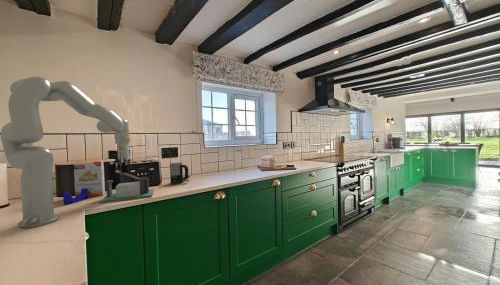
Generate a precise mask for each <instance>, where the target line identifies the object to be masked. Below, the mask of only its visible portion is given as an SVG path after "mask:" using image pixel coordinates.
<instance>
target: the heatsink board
mask: <svg viewBox="0 0 500 285" xmlns="http://www.w3.org/2000/svg"><path fill="white" fill-rule="evenodd" d="M140 178H141V179H140V180H139V181H133V182H124V183H118V184H117V185H115V192H113V189H112V187H113V186H112V183H113V182H114V179H112V180H111V179H109V180H107V181H106V182H105V191H106V196H104V198H101V200H100V203H101V204H105V203H112V202H113V203H115V202H120V201H121V202H122V201H131V200H139V199H146V198H152V197H153V194H154V188H150V187H149V186H150V185H149V176H145V177H140Z"/></svg>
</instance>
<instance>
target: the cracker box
mask: <svg viewBox="0 0 500 285" xmlns="http://www.w3.org/2000/svg"><path fill="white" fill-rule="evenodd" d="M73 174H74V176H73V178H74V194H75V197H76V196H77V195H78V194H80V193H81V189H88V198H91V197H99V196H100V197H102V196H104V195H105V194H106V182H105V167H104V160H97V161H80V162H79V161H77V162H74V163H73ZM75 197H74V198H75Z"/></svg>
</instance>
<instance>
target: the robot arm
mask: <svg viewBox="0 0 500 285" xmlns="http://www.w3.org/2000/svg"><path fill="white" fill-rule="evenodd" d="M9 90H10V92H11V94H10V96H9V99H8V103H7V104H8V106H7V107H8V113H9V118H10V122H7V123H5V124H4V125H3V126H2V127H1V129H0V139H1V145H2V148H3V151H4V154H5V158H6V161H7V162H8V164H9V165H10V166H11V167H13V168H15V169H18V170H21V174H20V180H19V182H20V192H21V193H20V198H21V212H22V220H20V221H19V222H18V223H17V227H18V228H19V229H21V228H22V229H27V228H34V227H39V226H43V225H48V224H52V223H54V222H56V221H57V220H59V219H60V215H59V214H55V207H54V206H55V203H54V188H53V168H54V166H53V165H54V154H53V152H51V150H50V149H48V148H46V147H44V146H40V145H34V143H37V142H39V141H41V140H42V139H43V138H44V134H45V133H44V127H43V125H42V124H43V123H42V121H41V115H40V112H39V111H40V110H39V108H40V103H41V102H59V101H63V103H65V104H67V105H68V106H69V107H70V108H72V109H73V110H74V111H76V112H77V114H80V115H82V116H84V117H85V116H86V117H88V118H92V119H96V120H98V121H97V123H96V128H97V130H98V131H99V132H101V133H103V134H104V133H105V134H110V133H113V135H114V136H113V137H114V144H115V145H116V148H117V160H118V161H119V162H120V166H121V172H124V173H128V172H129V166H128V161H129V160H131V153H130V146H129V144H130V143H131V140H130V129H129V128H130V127H129V120H127V119H121V118H120V116H118V115H117V114H116V113H115V112H114V111H112V110H110V109H109V108H107V107H104V106H103V105H101V104H98V103H96V102H94V101H93V100H92V99H91V98H90V97H88V95H87V94H85V93H83V91H81V89H79V88H78V87H77V86H75V85H74V84H73V83H72V82H70V81H67V80H60V81H59V80H58V81H54V82H49V80H48V79H46V78H45V77H41V76H29V77H26V78H21V79H18V80H15V81H13V82H12V83H11V84H10V87H9Z"/></svg>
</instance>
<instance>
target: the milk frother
mask: <svg viewBox="0 0 500 285" xmlns="http://www.w3.org/2000/svg"><path fill="white" fill-rule="evenodd" d="M182 163H183V162H170V163H169V175H170V184H171V185H176V184H177V185H179V184H181V183H184V181H186V180H188V179H189V178H191V175H189V166H188V165H187V164H182ZM183 169H184V171H183ZM183 174H184V175H183Z"/></svg>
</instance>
